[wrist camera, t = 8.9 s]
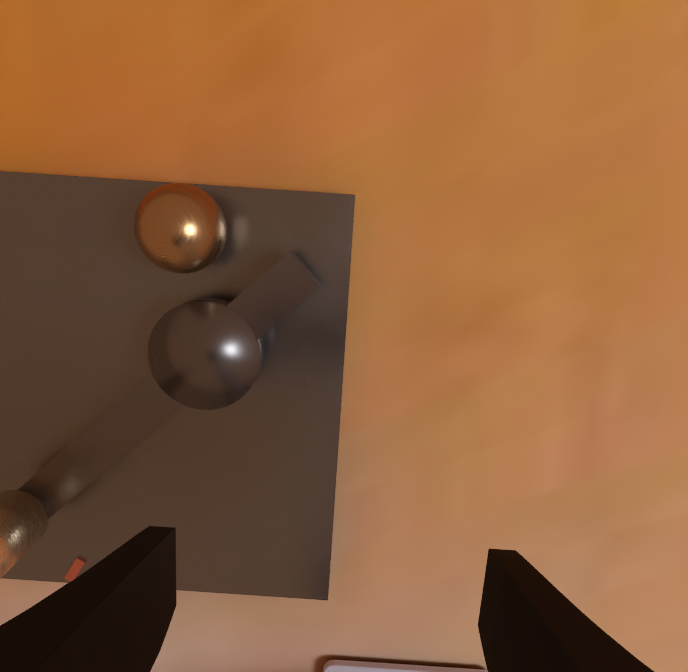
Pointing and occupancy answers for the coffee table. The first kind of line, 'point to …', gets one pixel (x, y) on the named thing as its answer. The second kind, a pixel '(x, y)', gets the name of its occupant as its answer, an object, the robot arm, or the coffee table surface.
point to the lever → (162, 393)
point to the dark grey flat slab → (132, 367)
